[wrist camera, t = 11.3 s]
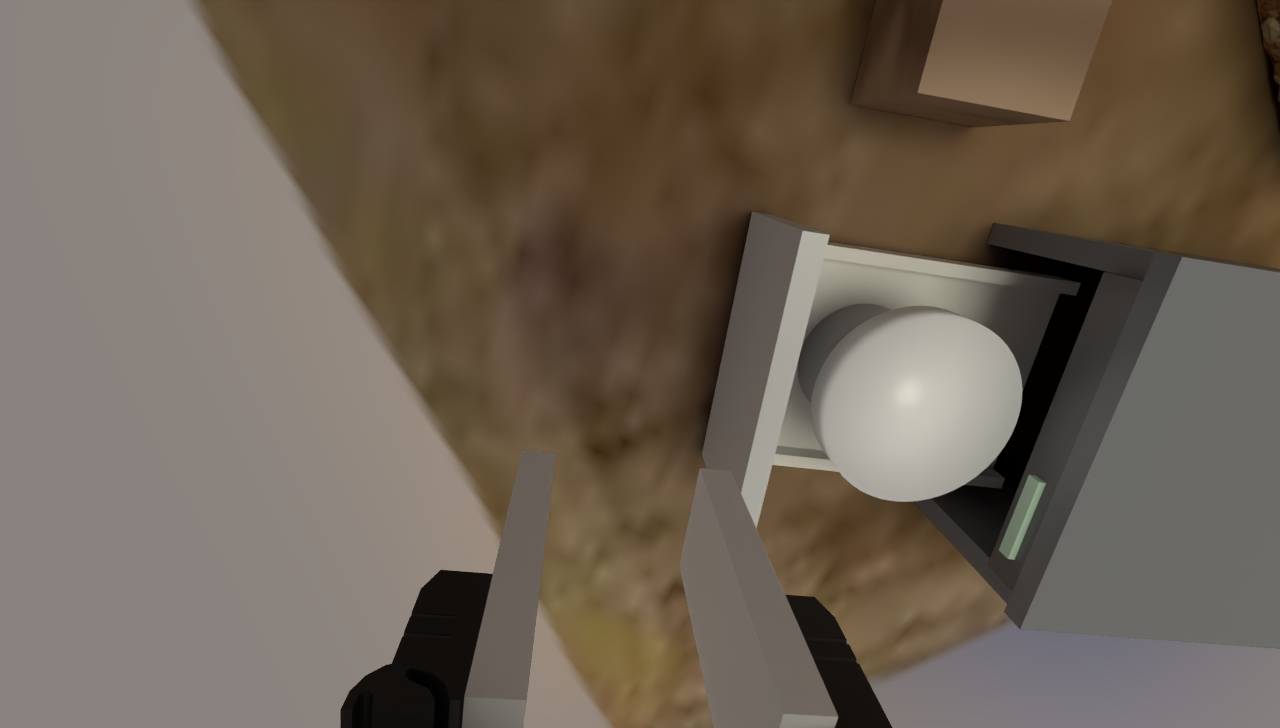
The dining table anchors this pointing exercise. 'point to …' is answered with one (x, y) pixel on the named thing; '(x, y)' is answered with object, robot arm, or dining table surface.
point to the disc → (916, 403)
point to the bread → (1271, 33)
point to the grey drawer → (925, 288)
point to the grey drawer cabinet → (1145, 459)
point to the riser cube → (979, 59)
